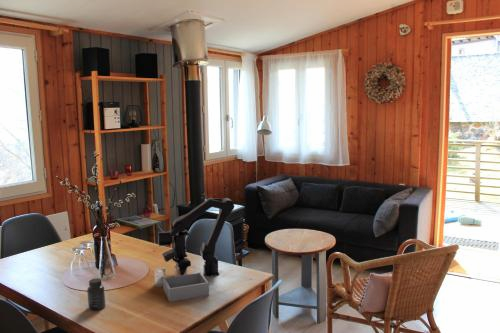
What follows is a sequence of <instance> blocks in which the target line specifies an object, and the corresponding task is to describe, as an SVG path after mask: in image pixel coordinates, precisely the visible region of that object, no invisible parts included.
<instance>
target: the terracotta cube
mask: <svg viewBox="0 0 500 333" xmlns="http://www.w3.org/2000/svg"><path fill="white" fill-rule="evenodd" d="M185 274H188V268H187V269H186V272H185ZM185 274H184V275H185ZM179 275H180V270H179V268H178V267H177V266H176V265H174V276H179Z"/></svg>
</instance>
